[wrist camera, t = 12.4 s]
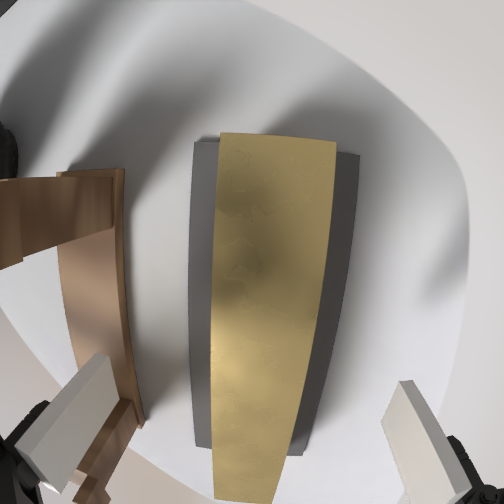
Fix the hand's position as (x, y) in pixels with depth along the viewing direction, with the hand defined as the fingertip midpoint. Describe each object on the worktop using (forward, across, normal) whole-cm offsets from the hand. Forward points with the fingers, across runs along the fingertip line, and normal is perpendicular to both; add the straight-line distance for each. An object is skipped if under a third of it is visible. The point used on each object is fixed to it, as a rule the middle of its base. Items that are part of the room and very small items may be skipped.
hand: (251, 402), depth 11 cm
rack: (+6, -11, 0) cm, 13 cm away
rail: (+6, 0, 0) cm, 6 cm away
